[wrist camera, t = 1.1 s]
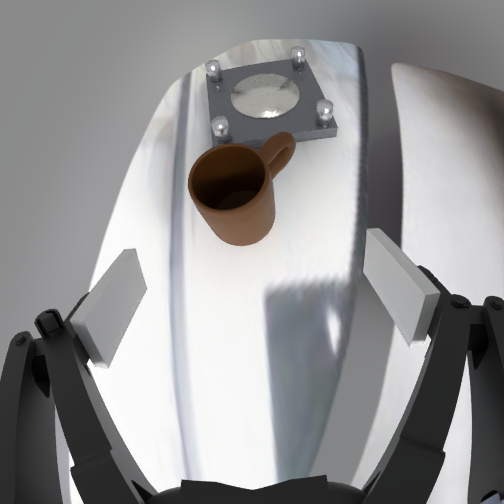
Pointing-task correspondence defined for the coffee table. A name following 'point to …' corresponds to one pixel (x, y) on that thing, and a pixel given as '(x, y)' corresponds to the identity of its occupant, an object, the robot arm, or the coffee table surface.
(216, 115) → the chassis
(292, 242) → the coffee table surface
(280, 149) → the mug
